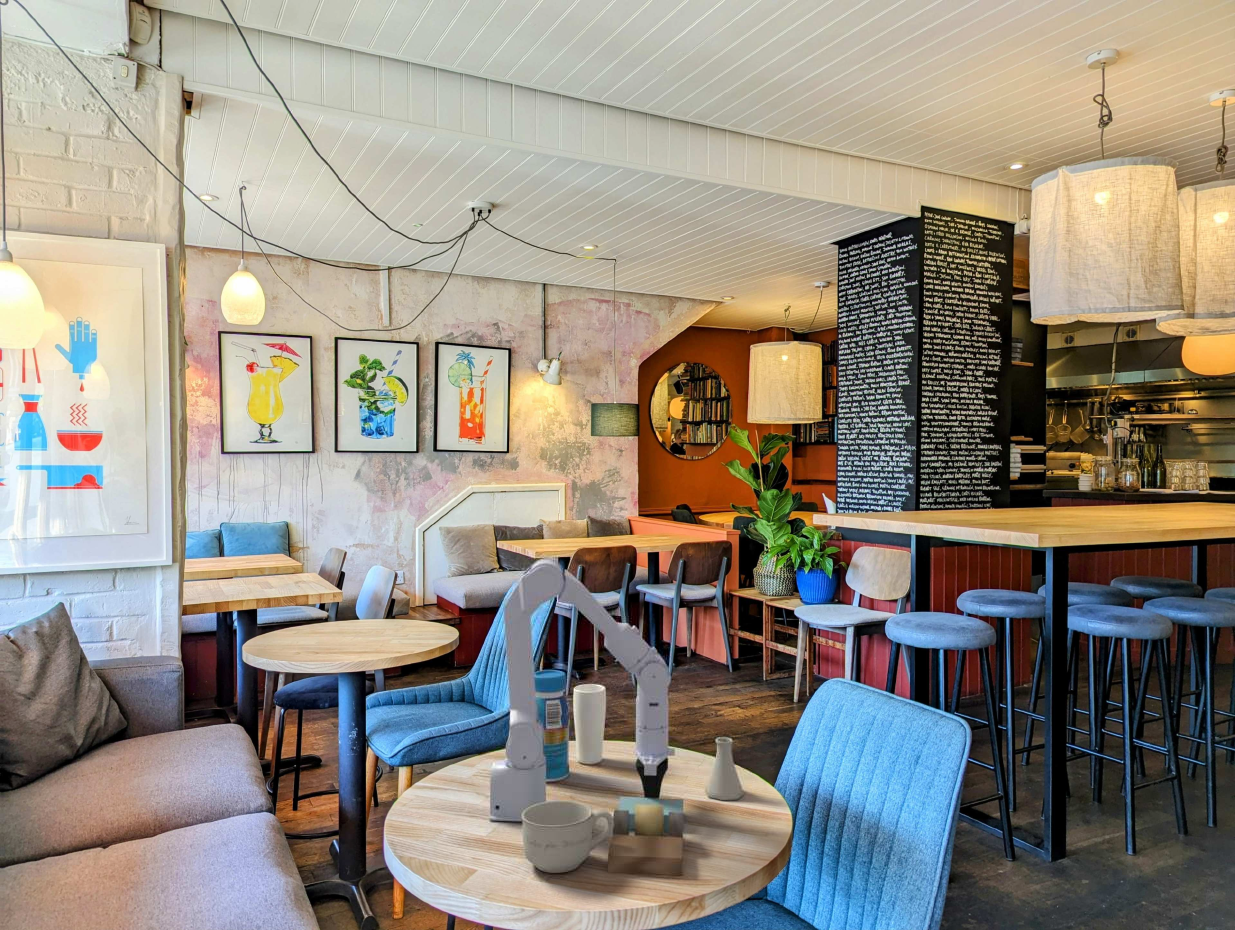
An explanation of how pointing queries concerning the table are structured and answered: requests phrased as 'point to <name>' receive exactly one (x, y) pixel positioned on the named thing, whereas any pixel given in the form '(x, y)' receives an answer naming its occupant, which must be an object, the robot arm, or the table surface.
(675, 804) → the loose hinge leaf
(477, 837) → the table surface
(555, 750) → the beverage bottle
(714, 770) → the flask
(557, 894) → the table surface
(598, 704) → the drinking glass
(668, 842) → the fixed hinge leaf
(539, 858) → the teacup
